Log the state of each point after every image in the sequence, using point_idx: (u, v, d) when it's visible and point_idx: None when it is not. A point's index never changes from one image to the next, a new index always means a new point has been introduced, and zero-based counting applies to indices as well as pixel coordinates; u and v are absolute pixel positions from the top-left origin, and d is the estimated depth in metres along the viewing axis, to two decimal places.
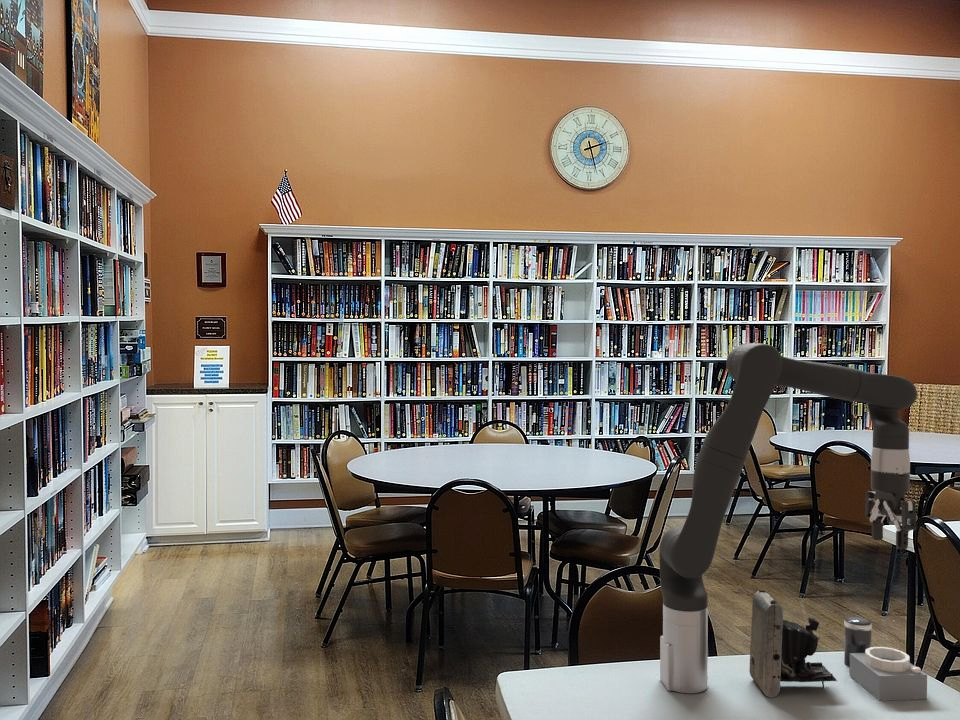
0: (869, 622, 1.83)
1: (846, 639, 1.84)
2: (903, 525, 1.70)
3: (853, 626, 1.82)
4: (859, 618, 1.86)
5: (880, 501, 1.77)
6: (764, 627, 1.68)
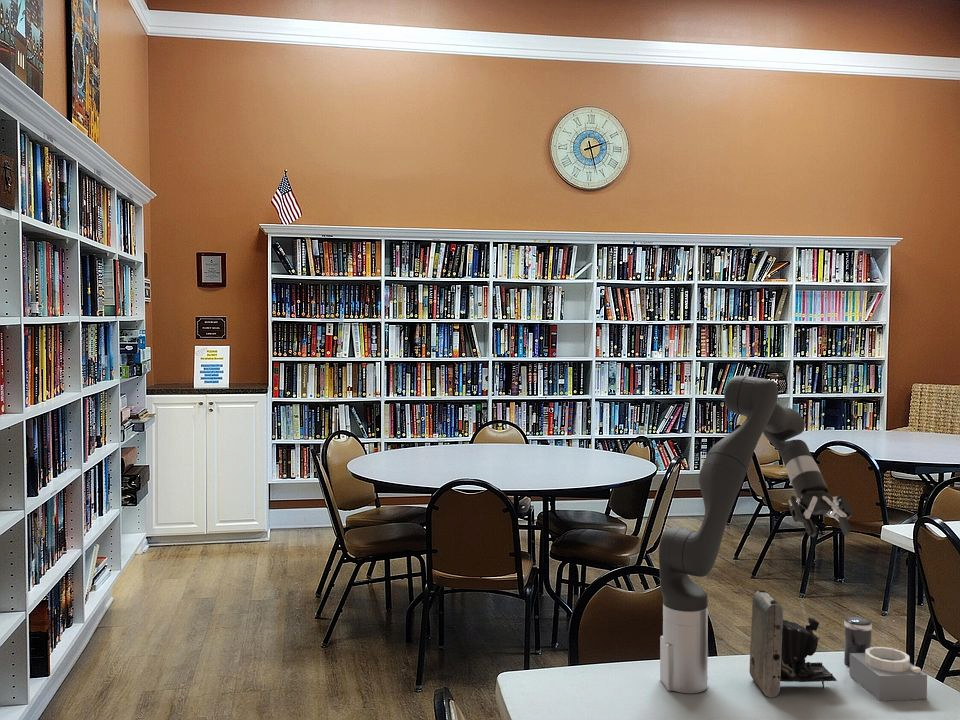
0: (869, 622, 1.83)
1: (846, 639, 1.84)
2: (849, 511, 1.99)
3: (853, 626, 1.82)
4: (859, 618, 1.86)
5: None
6: (764, 627, 1.68)
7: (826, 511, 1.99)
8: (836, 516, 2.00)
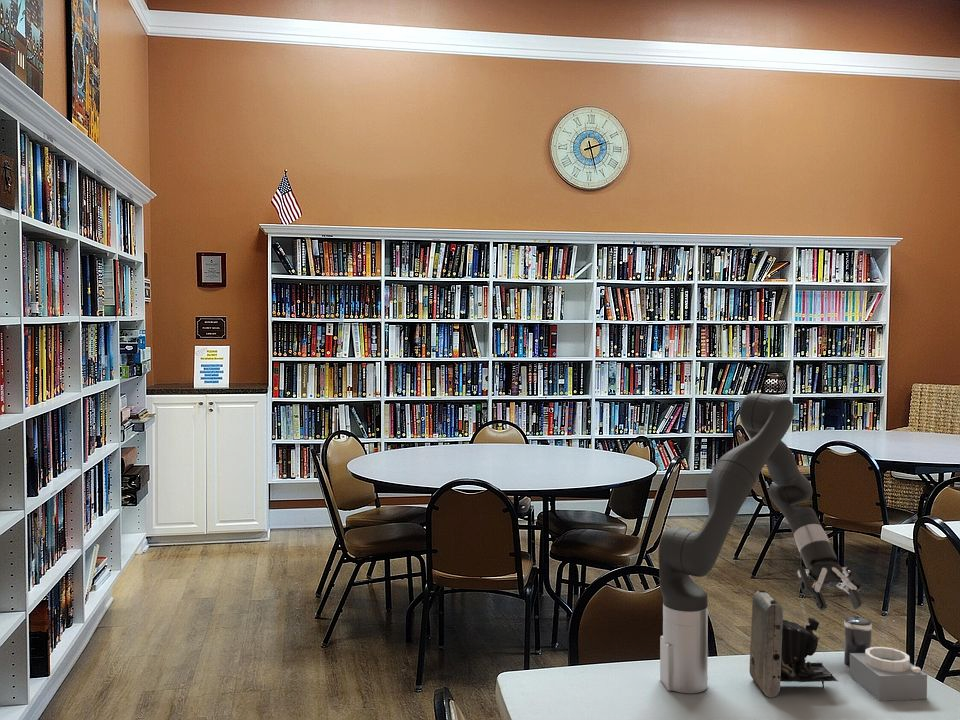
0: (869, 622, 1.83)
1: (846, 639, 1.84)
2: (859, 583, 1.95)
3: (853, 626, 1.82)
4: (859, 618, 1.86)
5: None
6: (764, 627, 1.68)
7: (836, 583, 1.95)
8: (846, 588, 1.96)
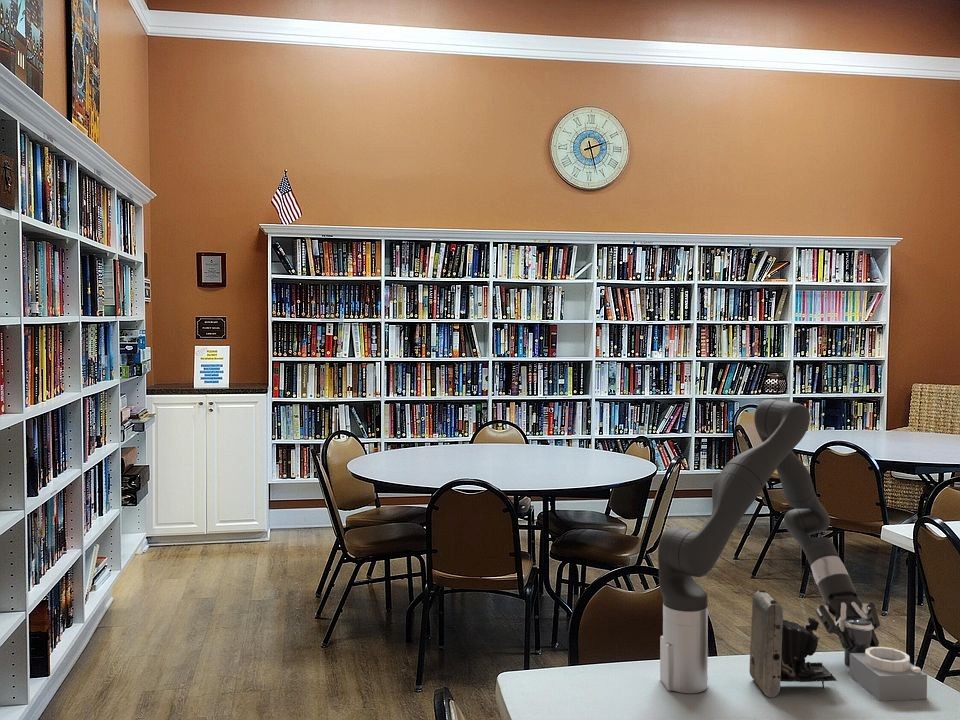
0: (869, 622, 1.83)
1: None
2: (876, 622, 1.86)
3: (853, 626, 1.82)
4: (859, 618, 1.86)
5: None
6: (764, 627, 1.68)
7: None
8: None
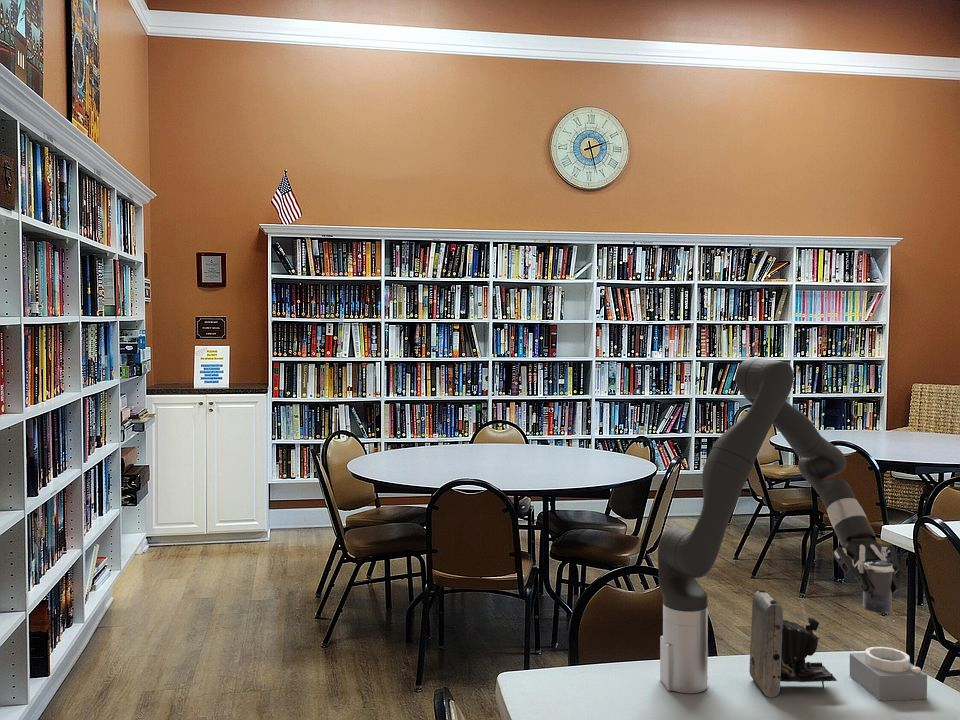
0: (890, 564, 1.75)
1: None
2: (897, 565, 1.78)
3: (873, 567, 1.74)
4: (879, 560, 1.77)
5: None
6: (764, 627, 1.68)
7: None
8: None
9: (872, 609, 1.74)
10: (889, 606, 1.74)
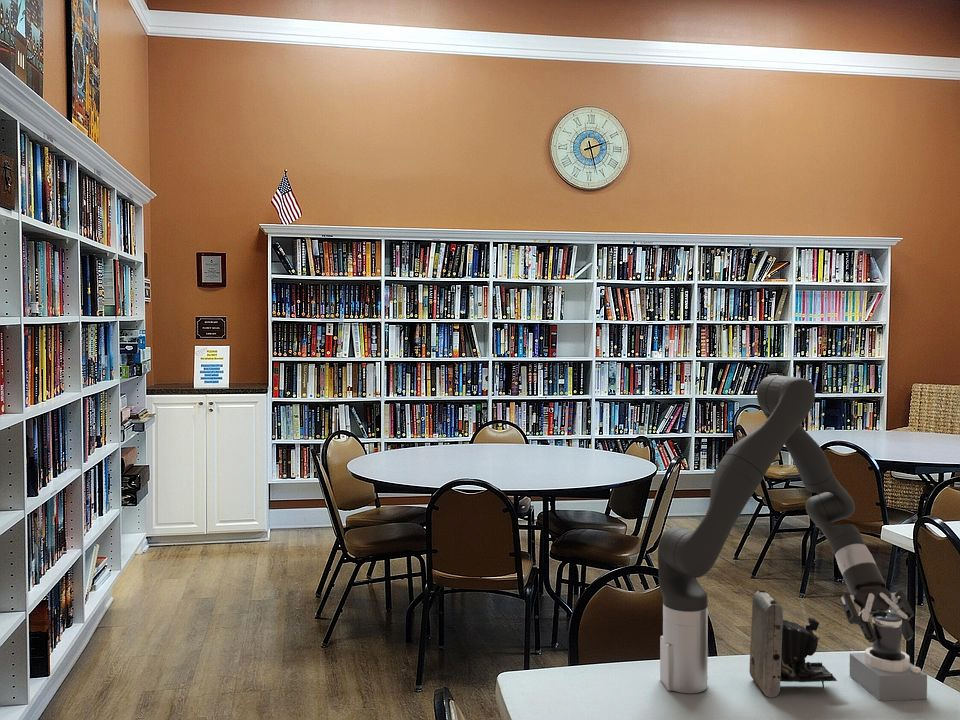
0: (899, 618, 1.71)
1: None
2: (910, 611, 1.75)
3: (882, 622, 1.70)
4: (888, 614, 1.74)
5: None
6: (764, 627, 1.68)
7: (884, 611, 1.75)
8: None
9: None
10: None
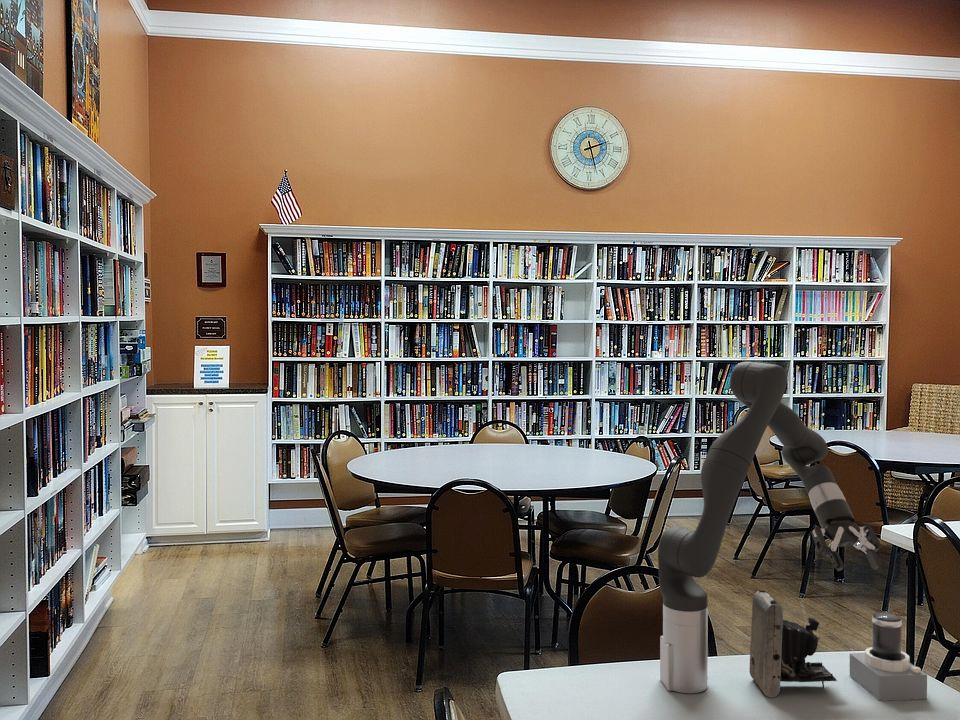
0: (899, 618, 1.71)
1: (874, 636, 1.72)
2: (877, 543, 1.86)
3: (882, 622, 1.70)
4: (888, 614, 1.74)
5: None
6: (764, 627, 1.68)
7: (853, 543, 1.86)
8: (863, 548, 1.87)
9: None
10: None
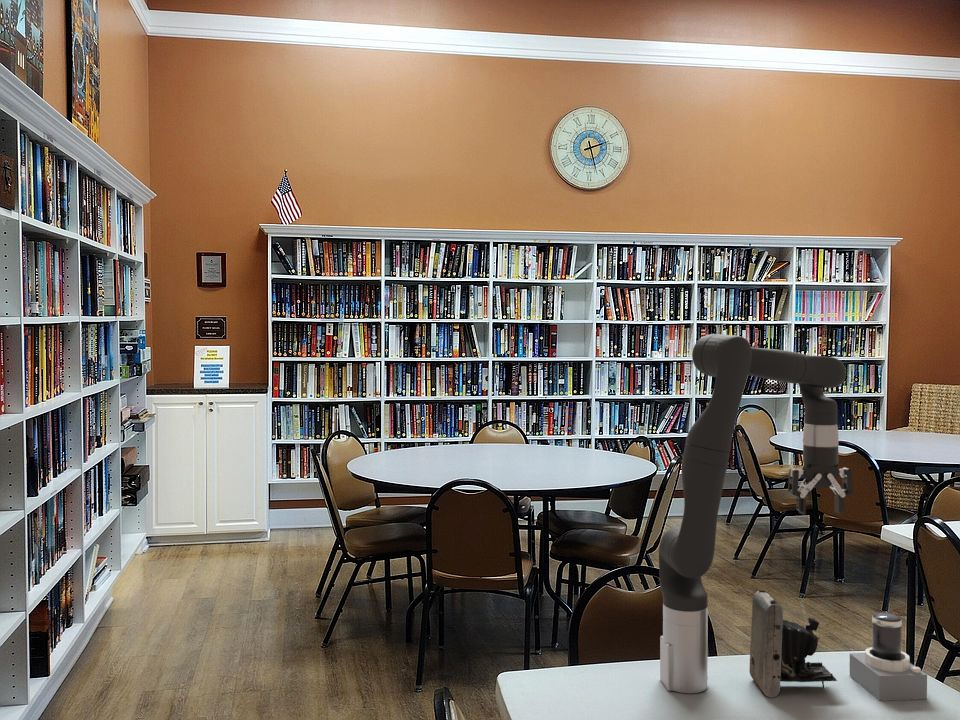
0: (899, 618, 1.71)
1: (874, 636, 1.72)
2: (850, 490, 1.88)
3: (882, 622, 1.70)
4: (888, 614, 1.74)
5: None
6: (764, 627, 1.68)
7: None
8: (835, 489, 1.90)
9: None
10: None
